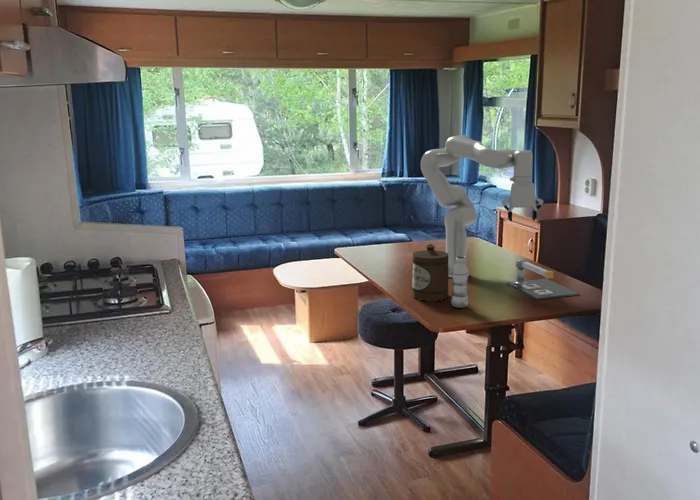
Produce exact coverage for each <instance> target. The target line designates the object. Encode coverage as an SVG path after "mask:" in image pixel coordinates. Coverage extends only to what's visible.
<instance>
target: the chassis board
mask: <svg viewBox="0 0 700 500" xmlns="http://www.w3.org/2000/svg"><path fill="white" fill-rule="evenodd" d="M526 281H527V285H528V284H535V285H538V286H540V287H541V288H538V289H526V288H524V287H522V285H516V284H514V283H513V281H510V282H509V281H508V282H506V285H507V286H509V287H511V288H513V289H515V290H517V291H519V292H521V293H523V294H525V295H527V296H530V297H531V298H532V299H535V300H546V299H554V298H555V299H556V298H565V297H574V296H579V295H581V293H580V292H578V291H576V290H573V289H571V288H569V287H566V286H564V285H561V284H559V283H557V282H555V281H553V280H551V279H547V278H540V279H529V280H526ZM545 289H546V290H548V291H551V292H553V294H548V295H538V294H536V293H534V292H533V291H535V290H545Z"/></svg>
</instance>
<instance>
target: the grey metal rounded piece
mask: <svg viewBox="0 0 700 500" xmlns="http://www.w3.org/2000/svg"><path fill="white" fill-rule="evenodd" d="M516 268H517V270H516V271H517V272H516V279H515V280H513V281H512V282H513V283H514V284H516V285H527V281H528V280H525V269H526V268H518V267H516Z"/></svg>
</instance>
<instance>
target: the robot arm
mask: <svg viewBox="0 0 700 500" xmlns="http://www.w3.org/2000/svg"><path fill="white" fill-rule="evenodd" d="M444 146H445V147H444V148H435V149H429V150H428V151H426V152H425V153H423V155H422V157H421V160H420V170H421V173H422V175H423V177H424V179H425V181H426V182H427V183H428V185H429V187H430V189H431V192H432V193H433V195H434V198H435V199H436V201H437V203H438V205H439V206H441V207H443V208H450V207H453V208H450V209H448V210H447V211H446V213H445V214H444V220H443V221H444V227H445V252H446V253H448V278H452V268H453V266H454V265H455V264H456V262H455V261H456V257H458V256H462V257H465V258H466V259H465V261H466V262H465V265H466V266H467V248H468V247H467V245H468V235H467V231H466V227H468V226H471V225H473V224H475V222H476V221H477V217H478V215H477V214H478V213H477V211H476V208H475V207H474V204H473V203H472V201H471V199H470V197H469V195H468V193H467V192H466V190H465V189H464V188H463V187H462V186H461V185H457V184H455V185H451V183H450V182H449V180H448V178H447V176H446V175H445V174H444V172H442V171H441V170H440V168H443V167H444V168H445V167H450V166H451V165H453V164H455V163H457V161H459V160H461V159H462V158H463V159H468V160H470V161H474V162H476V163H478V164H480V165H482V166H485V167H489V168H492V169H499V170H501V169H506V168H507V169H508V168H513V175H512V177H510V178H509V181H510V182H513V183H511V186H510V193H509V194H510V195H509V197H506V198H505V199H504V200H502V201H501V202H500V203H501V204H502V207H503V208H504V209H505V210H506V211H507V219H508V220H509V221H510V222H512V221H513V209H516V208H518V209H519V208H532V211H531V212H532V213H531V214H532V215H531V220H532V221H534V222H536V219H538V218H537V216H538V210H539V209H540V208H541V207H542V205H544V204H543V203H544V200H543V199H541V198H539V197H537V196H536V186H535V183H534V182H533V161H534V160H533V156H534V155H533V151H532V150H530V149H529V150H527V149H525V150H524V149H522V150H521V149H519V150H516V149H515V150H514V149H502V150H497V149H493V148H488V147H486V146H484V144H483V142H482V141H480V140H479V141H478V140H475V139H472V138H471V137H469V136H468V135H464V134H461V135H453V136H450V137H449V138H447V140H446V141H445V145H444ZM508 202H509V206H507V203H508ZM537 202H538V204H537V205H536V203H537ZM469 276H470V272H469V273H468V277H469ZM452 279H453V278H452Z"/></svg>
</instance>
